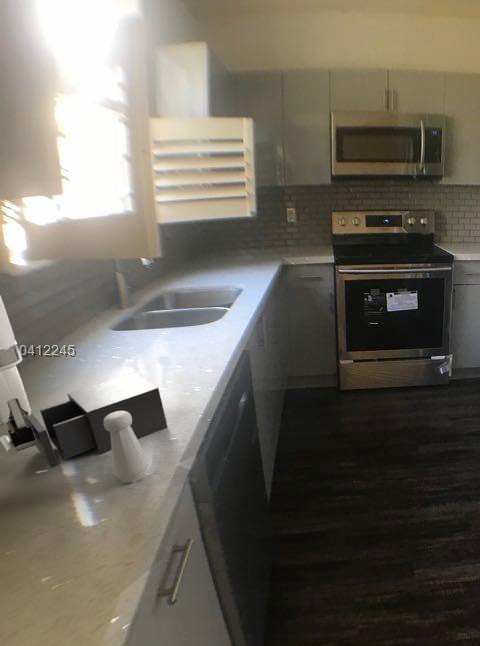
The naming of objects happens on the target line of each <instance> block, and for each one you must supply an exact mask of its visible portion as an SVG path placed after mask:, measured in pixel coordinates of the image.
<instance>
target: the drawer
mask: <svg viewBox="0 0 480 646" xmlns="http://www.w3.org/2000/svg"><path fill="white" fill-rule="evenodd" d="M39 412H40V415H41V417H42V420H43V424H44V425H43V424H42V422H41V421H40V420H39V419H38V418H37V416H36V415H35V414H34V413H33V411H31V415H30V416H29V417H28V416H26V417H27V420H28V423H29V425H30V426H31V429H32V432H33V435H34V437H35V440H34V441H31V442H28V443H25V444H22V445H20V446H17V447H15V445H14V444H13V442H12V440H11V438H10V435H7V434H6V435H5V434H4V435H2V436H0V443H1V444H2V446H3V448H4V450H5V451H6V453H7V455H9V456H14V455H15V454H17V453H18V451H17V450H20V449H23V448H26V447H28V448H30V447H29V446H31V445H34V444H36V445H34V446H35V447H36V449H37V450H38V452H39V453H40V454H41V456H42V457H43V459H44V460H45V461H46V463H47V464H48V465H49V468H50V469H53V468H55V467H57V466H59V462H58V460H57V456H56V454H55V451H54V448H55V449H56V450H57V451H58V453H60V455H61V456H62V458H63V459H64V460H67V459H70V458H72V457H75V456H77V455H80V454H82V453H84V452H88V451H90V450H92V449H95V447H97V446H96V443H95V440H94V436H93V433H92V430H91V427H90V423H89V420H88V417H87V414H86V413H85V412H84V411H83V410H82V409H81V408H79V407H78V406H77V405H76V404H75V403H74V402H73V401H72V400H69V399H68V400H66V401H63V402H60V403H57V404H54V405H51V406H48V407H44V408H41V409H39ZM53 446H54V448H53ZM31 447H32V446H31ZM26 449H27V448H26ZM23 450H24V449H23ZM20 451H21V450H20Z"/></svg>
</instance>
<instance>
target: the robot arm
mask: <svg viewBox="0 0 480 646" xmlns="http://www.w3.org/2000/svg"><path fill="white" fill-rule="evenodd" d="M22 361H23V358H22V354H21V351H20V348H19V345H18V342H17V339H16V337H15V334H14V331H13V327H12V325H11V322H10V319H9V316H8V312H7V310H6V307H5V303H4V301H3V299H2V296H1V295H0V426H4V425H5V424H6V426H7V432H8V436H10V438H11V441H12V442H13V444H14V445H15V447H17V446H20V445H22V444H25V443H28V442H31V441H34V440H35V437H34V435H33V432H32V429H31V426H30V425H29V423H28V420H27V417H26V416H28V417H29V416H30V415H31V412H32V410H31V406H30V403H29V399H28V396H27V392H26V389H25V387H24V383H23V381H22V378H21V375H20V372H19V370H18V368H17V367H18V366H17V365H18V364H20V363H21V362H22ZM35 445H36V444H34V445H31V446H29V447H26V448H23V449H20V450H17V452H20V451H23V450H26V449H28V448H31V447H34V446H35Z"/></svg>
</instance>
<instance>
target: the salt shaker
mask: <svg viewBox="0 0 480 646" xmlns="http://www.w3.org/2000/svg"><path fill="white" fill-rule="evenodd" d="M131 424H132V417H131V415H130V413H128V412H126V411H117V412H113V413H111V414H109V415H107V416H106V417H105V418H104V427H105V429H106V430H107V431H110V435H111V449H112V450H111V464H112V465H111V466H112V467H111V468H112V474H113V475H115V476H116V478H118V479H119V480H120V481H121V482H122V484H134V483H136V482H138V481H140V480H142V479H144V477H145V475H146V473H147V470H148V466H149V458H148V456H147V454H146V452H145V450H144V449H143V447H142V445H141V443H140V441H139V439H137V438H136V436H135V434H134V432H133V430H132V428H131V426H130V425H131Z"/></svg>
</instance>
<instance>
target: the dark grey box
mask: <svg viewBox="0 0 480 646" xmlns="http://www.w3.org/2000/svg"><path fill="white" fill-rule="evenodd" d="M66 394H67V397H68V401H69V400H72V401H73V402H74V403H75V404H76V405H77V406H78V407H79V408H81V409H82V410H83V411H84V412H85V413H86V414H87V417H88V420H89V423H90V427H91V430H92V433H93V436H94V440H95V443H96V446H97V447H95V448H94V450H95V451H96V452H97V453H98V454H99V455H103V454H104V453H107V452H109V451H112V449H111V435H110V431H107V430H106V429H105V427H104V418H105V417H106V416H107V415H109V414H111V413H113V412H117V411H126V412H128V413H130V415H131V417H132V424H131V425H130V426H131V428H132V430H133V432H134V434H135V436H136V438H137V439H138V440H139V439H142V438H144V437H146V436H147V437H148V436H149V435H152V434H153V433H156V432H158V431H162V430H164V429H166V428H168V422H167V418H166V415H165V410H164V406H163V402H162V401H163V400H162V398H161V393H160V388H159V387H158V386H157V385H155V384H153V383H152V382H150V381H149V380H147V379H146V378H145V377H143V376H141V375H140V374H138V373H136V372H132V373H128V374H125V375H122V376H118V377H116V378H113V379H109V380H106V381H103V382H100V383H96V384H94V385H90V386H87V387H84V388H79V389H78V390H74V391H69V392H68V393H66Z"/></svg>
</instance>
